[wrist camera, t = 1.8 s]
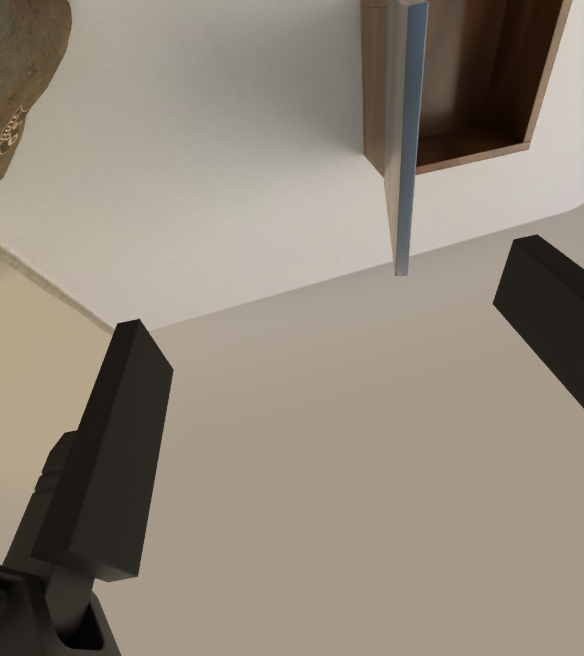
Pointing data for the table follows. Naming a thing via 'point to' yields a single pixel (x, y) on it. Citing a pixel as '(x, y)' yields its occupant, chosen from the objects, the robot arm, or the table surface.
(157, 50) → the table surface
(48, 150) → the table surface
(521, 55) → the storage box
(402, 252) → the blue lid
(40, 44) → the container
